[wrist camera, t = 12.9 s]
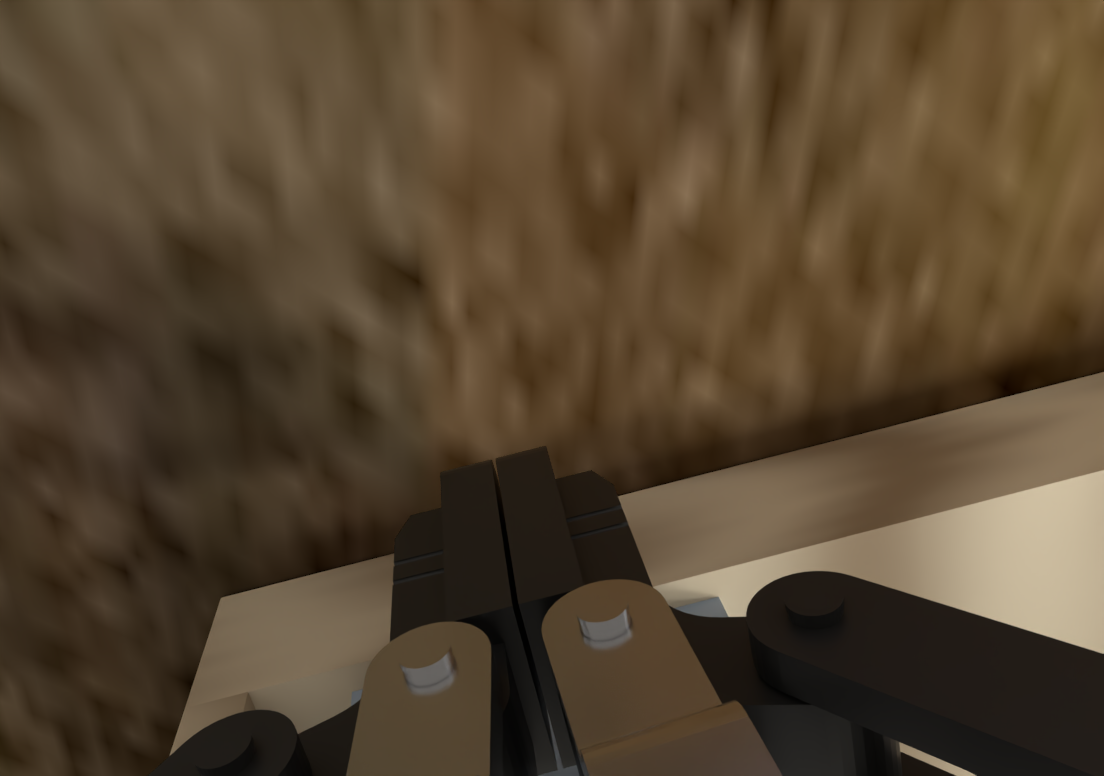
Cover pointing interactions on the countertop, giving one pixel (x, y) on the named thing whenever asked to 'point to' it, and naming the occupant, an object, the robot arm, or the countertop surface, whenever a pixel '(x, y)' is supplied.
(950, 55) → the countertop surface
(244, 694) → the flatbed
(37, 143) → the countertop surface
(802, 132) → the countertop surface
